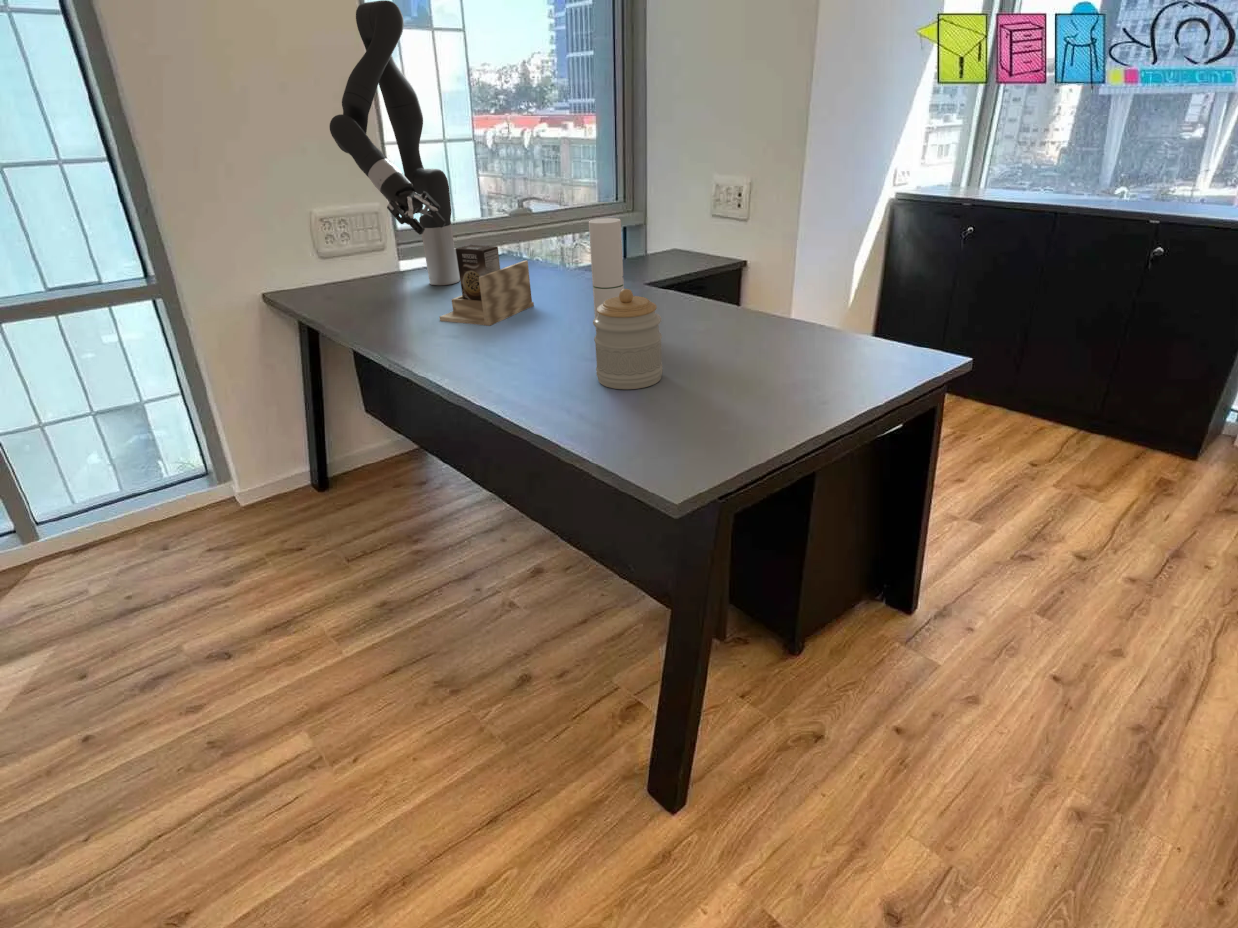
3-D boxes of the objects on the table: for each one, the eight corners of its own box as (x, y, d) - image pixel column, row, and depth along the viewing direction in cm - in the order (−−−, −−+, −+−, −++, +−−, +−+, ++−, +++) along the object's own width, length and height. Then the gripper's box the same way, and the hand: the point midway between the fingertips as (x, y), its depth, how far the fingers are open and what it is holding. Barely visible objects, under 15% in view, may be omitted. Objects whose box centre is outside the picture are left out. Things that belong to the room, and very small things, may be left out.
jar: (672, 385, 137) (670, 292, 129) (606, 395, 134) (601, 301, 126) (650, 364, 149) (647, 278, 141) (589, 373, 146) (583, 285, 138)
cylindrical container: (627, 325, 174) (622, 217, 163) (624, 334, 168) (619, 222, 157) (597, 326, 175) (590, 218, 164) (593, 335, 169) (586, 223, 157)
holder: (486, 301, 203) (480, 258, 197) (533, 305, 196) (529, 260, 190) (439, 320, 187) (432, 273, 182) (489, 325, 180) (483, 277, 175)
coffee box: (463, 311, 190) (454, 248, 183) (479, 305, 195) (470, 243, 188) (490, 314, 186) (482, 250, 179) (505, 307, 191) (498, 245, 184)
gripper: (376, 175, 179) (421, 224, 180) (414, 167, 190) (457, 213, 191) (365, 197, 184) (409, 245, 185) (403, 188, 195) (445, 233, 196)
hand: (433, 228), depth 188 cm, fingers open, 8 cm apart
